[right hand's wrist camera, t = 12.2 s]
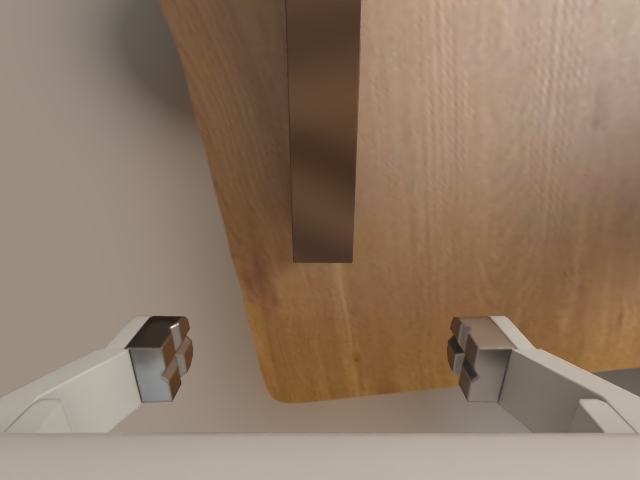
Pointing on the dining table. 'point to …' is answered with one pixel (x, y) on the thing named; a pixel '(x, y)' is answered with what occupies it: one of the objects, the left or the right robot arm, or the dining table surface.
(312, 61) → the beam
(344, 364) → the dining table surface
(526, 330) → the dining table surface
